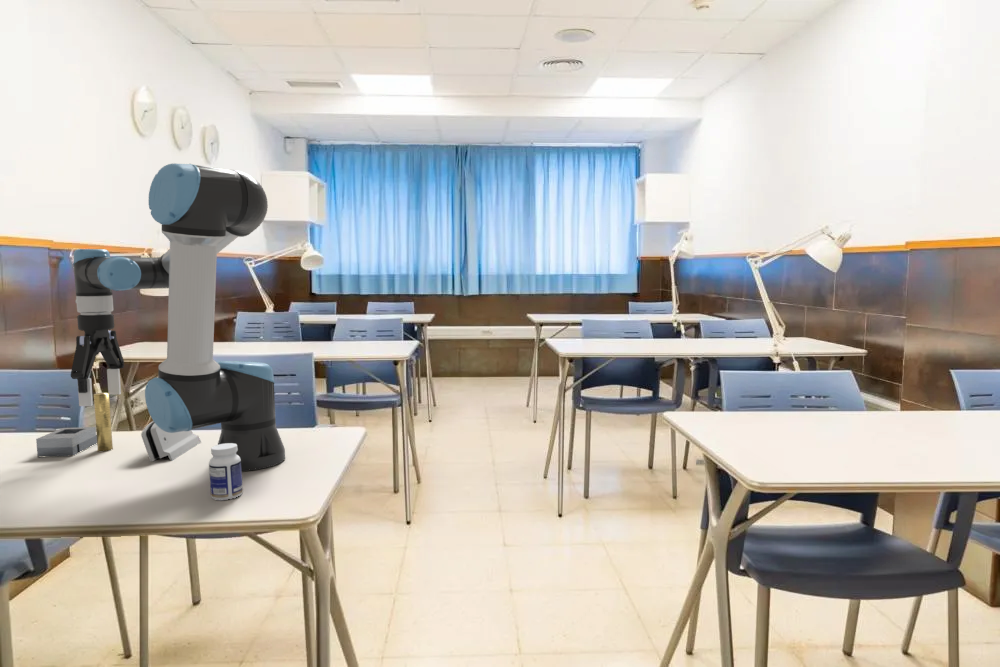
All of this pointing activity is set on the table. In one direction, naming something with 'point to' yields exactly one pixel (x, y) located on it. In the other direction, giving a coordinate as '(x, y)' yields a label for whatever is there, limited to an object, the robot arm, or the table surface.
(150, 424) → the white piece
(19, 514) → the table surface
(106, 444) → the pin
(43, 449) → the grey block with pocket
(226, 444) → the pill bottle
